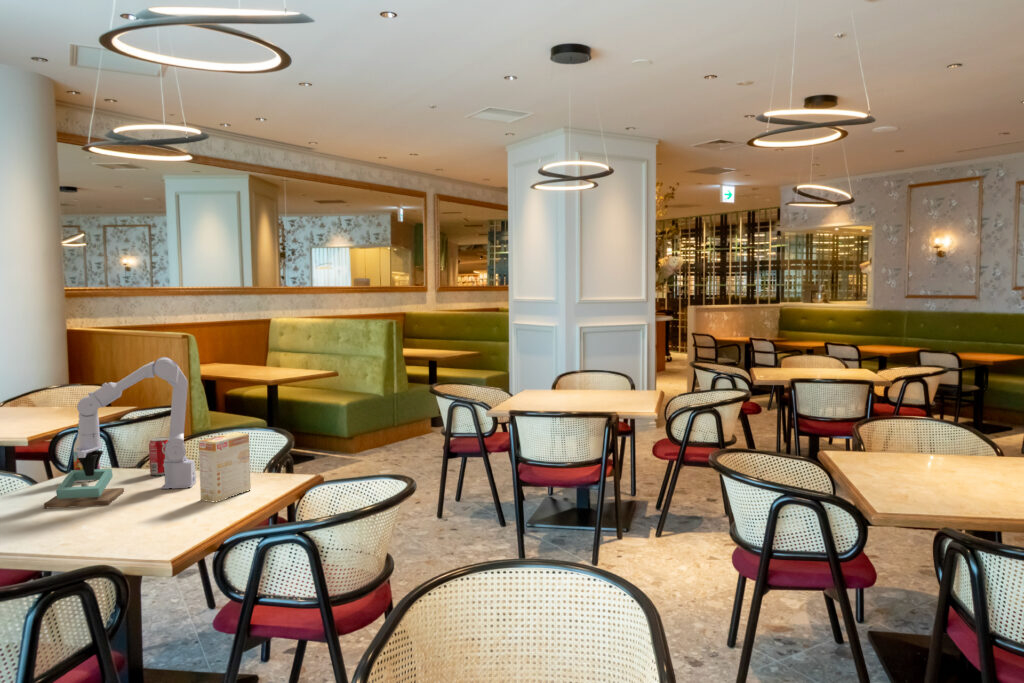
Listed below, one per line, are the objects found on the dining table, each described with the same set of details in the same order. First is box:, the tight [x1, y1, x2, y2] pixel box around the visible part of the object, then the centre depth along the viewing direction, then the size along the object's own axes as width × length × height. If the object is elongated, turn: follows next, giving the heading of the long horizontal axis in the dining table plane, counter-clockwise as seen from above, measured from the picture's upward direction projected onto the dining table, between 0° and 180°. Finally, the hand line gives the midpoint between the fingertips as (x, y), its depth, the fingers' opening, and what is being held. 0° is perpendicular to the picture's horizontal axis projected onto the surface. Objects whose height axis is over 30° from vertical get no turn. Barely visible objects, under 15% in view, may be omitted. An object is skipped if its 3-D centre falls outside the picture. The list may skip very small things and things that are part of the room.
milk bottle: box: [73, 423, 101, 483], centre depth 247 cm, size 8×8×20 cm
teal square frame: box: [55, 468, 114, 499], centre depth 224 cm, size 12×12×3 cm
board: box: [43, 482, 125, 509], centre depth 223 cm, size 18×14×6 cm
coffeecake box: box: [198, 431, 252, 503], centre depth 228 cm, size 15×7×20 cm, turn 155°
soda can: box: [148, 436, 169, 476], centre depth 255 cm, size 7×7×13 cm
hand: (91, 474), depth 228 cm, fingers closed on teal square frame, 2 cm apart
